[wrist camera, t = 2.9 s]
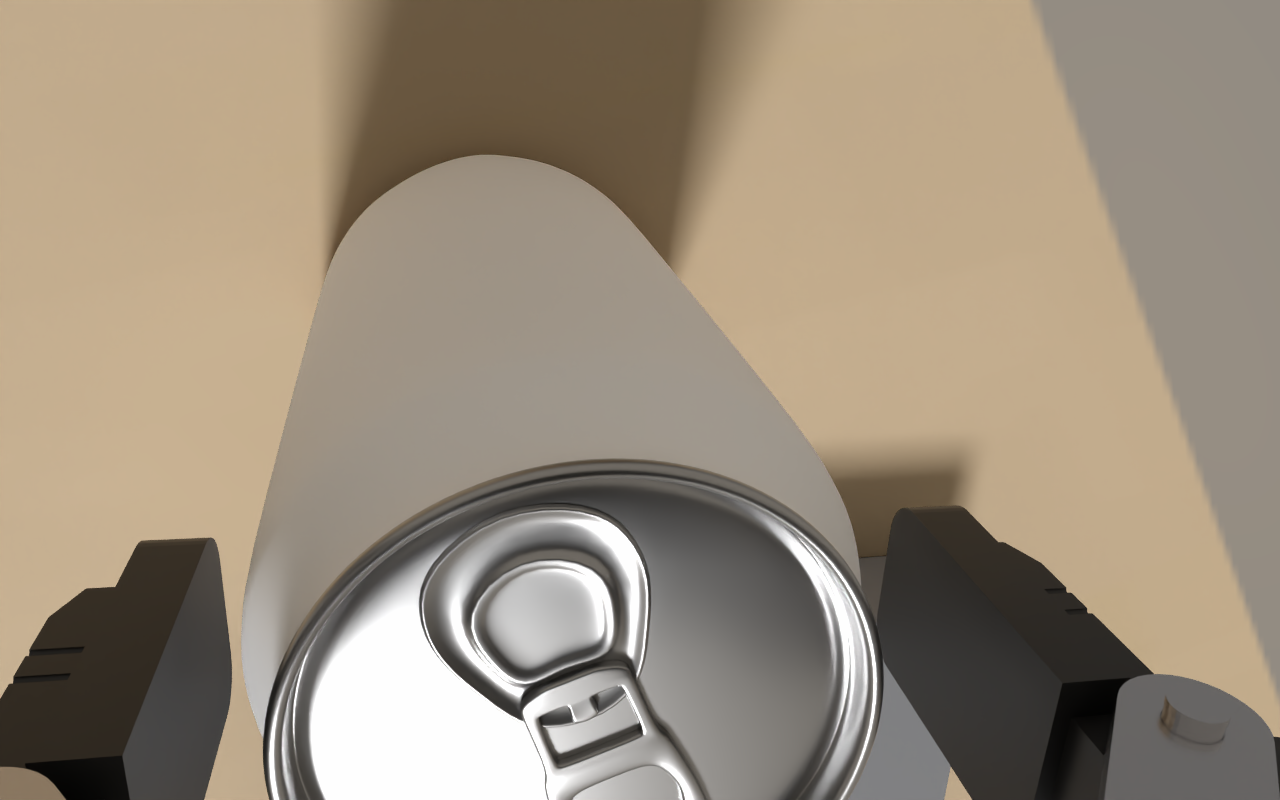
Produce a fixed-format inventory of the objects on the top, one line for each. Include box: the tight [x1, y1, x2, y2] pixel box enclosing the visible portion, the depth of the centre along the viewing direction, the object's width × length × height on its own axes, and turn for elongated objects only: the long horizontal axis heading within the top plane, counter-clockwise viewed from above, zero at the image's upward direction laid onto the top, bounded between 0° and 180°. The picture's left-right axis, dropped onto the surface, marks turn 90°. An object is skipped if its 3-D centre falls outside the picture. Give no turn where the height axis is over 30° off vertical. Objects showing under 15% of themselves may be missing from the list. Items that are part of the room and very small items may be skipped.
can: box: [241, 155, 884, 800], centre depth 15 cm, size 6×6×12 cm
